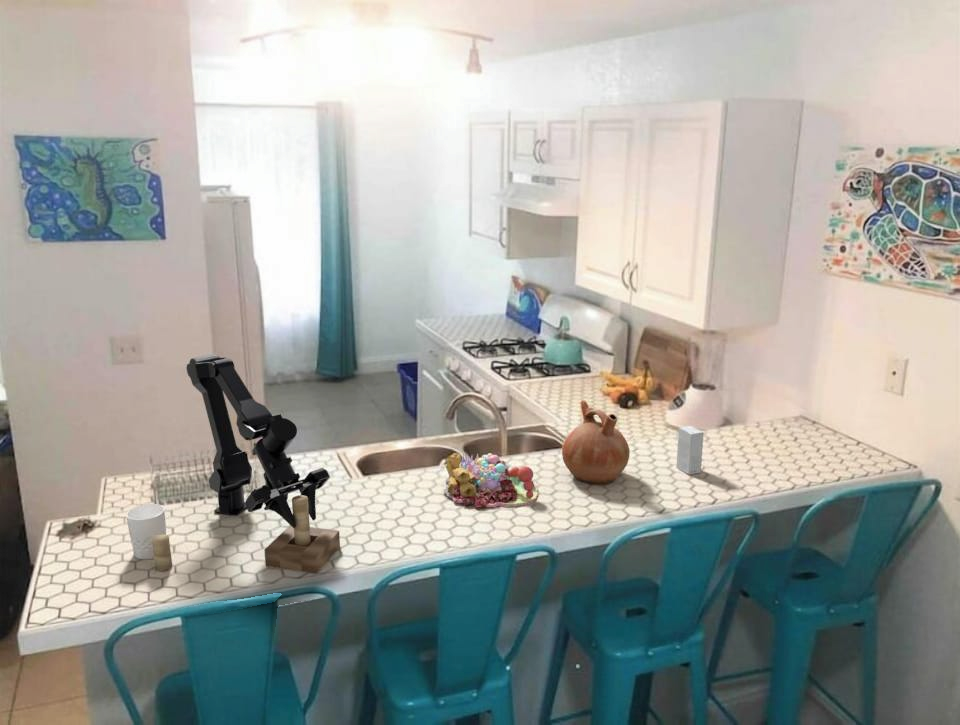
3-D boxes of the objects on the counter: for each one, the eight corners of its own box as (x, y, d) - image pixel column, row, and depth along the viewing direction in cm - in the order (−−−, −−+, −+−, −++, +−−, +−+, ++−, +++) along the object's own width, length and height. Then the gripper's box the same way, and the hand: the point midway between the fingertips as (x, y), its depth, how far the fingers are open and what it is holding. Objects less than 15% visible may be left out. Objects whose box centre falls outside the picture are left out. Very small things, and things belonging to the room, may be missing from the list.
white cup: (174, 543, 183) (169, 503, 180) (162, 561, 175) (157, 519, 173) (139, 544, 183) (134, 503, 180) (125, 561, 175) (120, 520, 172)
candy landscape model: (453, 515, 198) (453, 480, 195) (434, 477, 220) (433, 446, 217) (549, 503, 204) (550, 470, 201) (521, 468, 226) (521, 437, 223)
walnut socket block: (291, 540, 184) (290, 524, 183) (340, 546, 181) (339, 530, 180) (265, 566, 173) (264, 549, 172) (316, 573, 170) (315, 556, 169)
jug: (548, 469, 224) (550, 401, 218) (603, 459, 231) (606, 393, 226) (583, 495, 208) (586, 422, 202) (641, 483, 215) (645, 412, 210)
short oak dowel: (161, 562, 175) (158, 533, 173) (175, 564, 174) (172, 535, 172) (152, 570, 171) (148, 541, 170) (165, 572, 171) (162, 542, 169)
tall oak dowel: (295, 554, 178) (291, 496, 175) (310, 551, 179) (307, 494, 176) (296, 561, 175) (292, 502, 172) (312, 559, 176) (308, 500, 172)
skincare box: (701, 473, 222) (704, 432, 218) (688, 475, 220) (691, 434, 217) (688, 465, 227) (691, 425, 224) (675, 467, 226) (678, 427, 222)
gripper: (298, 466, 190) (327, 524, 186) (225, 490, 178) (254, 552, 173) (315, 444, 183) (345, 504, 178) (240, 467, 170) (271, 531, 166)
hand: (304, 523), depth 174 cm, fingers open, 5 cm apart
